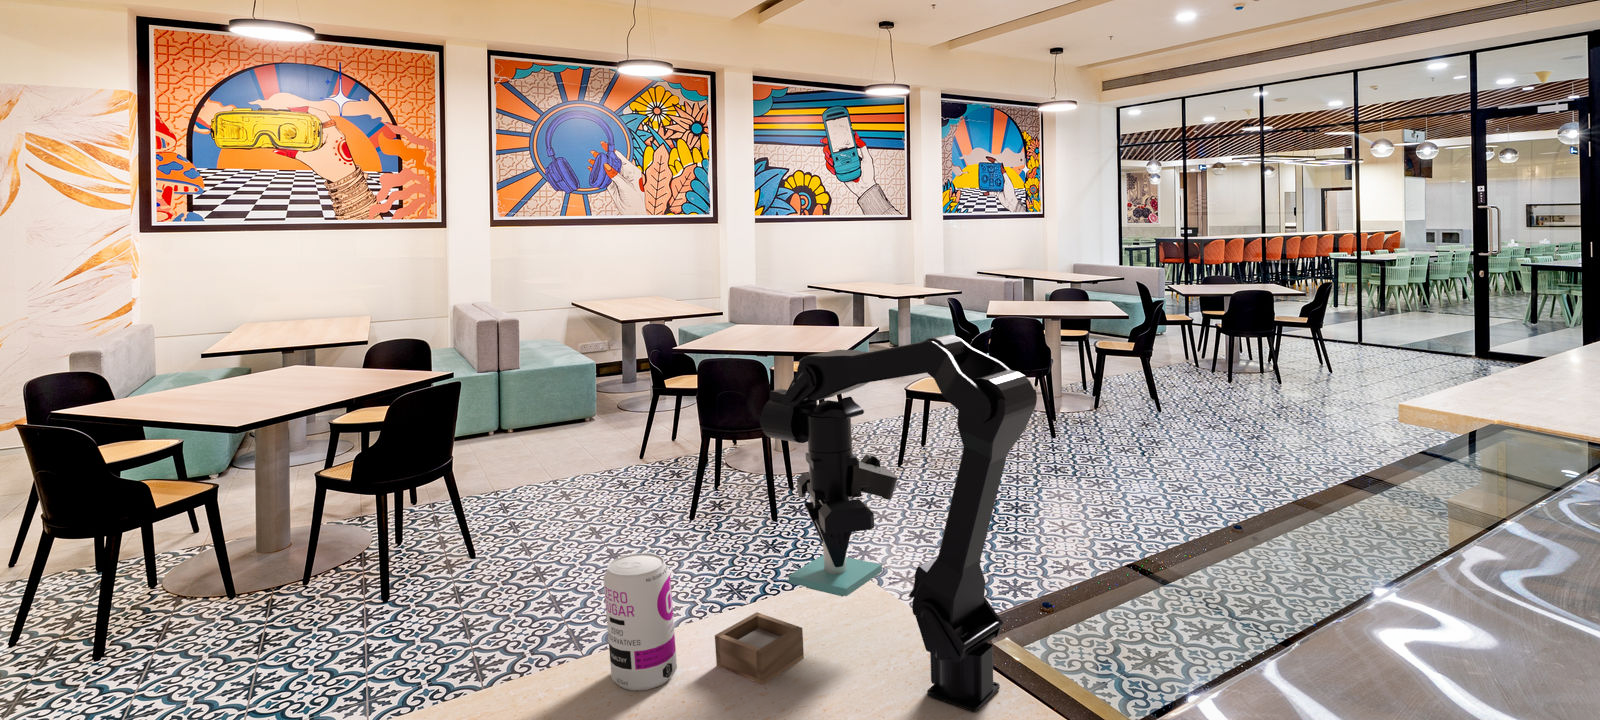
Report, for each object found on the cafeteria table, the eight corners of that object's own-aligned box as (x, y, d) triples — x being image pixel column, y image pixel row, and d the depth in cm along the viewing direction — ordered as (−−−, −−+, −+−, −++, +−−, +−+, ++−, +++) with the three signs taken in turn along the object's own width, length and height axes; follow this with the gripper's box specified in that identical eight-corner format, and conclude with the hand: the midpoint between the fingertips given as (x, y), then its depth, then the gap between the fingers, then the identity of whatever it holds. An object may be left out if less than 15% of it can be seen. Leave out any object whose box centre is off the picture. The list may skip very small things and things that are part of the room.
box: (803, 660, 112) (802, 627, 111) (762, 687, 106) (760, 652, 105) (758, 643, 117) (756, 612, 116) (716, 667, 111) (714, 635, 110)
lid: (882, 578, 116) (880, 535, 115) (846, 603, 108) (844, 558, 108) (826, 566, 121) (824, 525, 120) (789, 589, 114) (786, 546, 113)
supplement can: (683, 659, 113) (675, 551, 111) (667, 693, 105) (659, 577, 102) (623, 659, 114) (614, 551, 111) (603, 693, 106) (593, 577, 103)
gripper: (912, 458, 104) (916, 581, 107) (870, 427, 122) (874, 532, 125) (822, 468, 102) (829, 592, 105) (793, 434, 120) (799, 541, 123)
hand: (835, 562), depth 114 cm, fingers closed on lid, 3 cm apart
